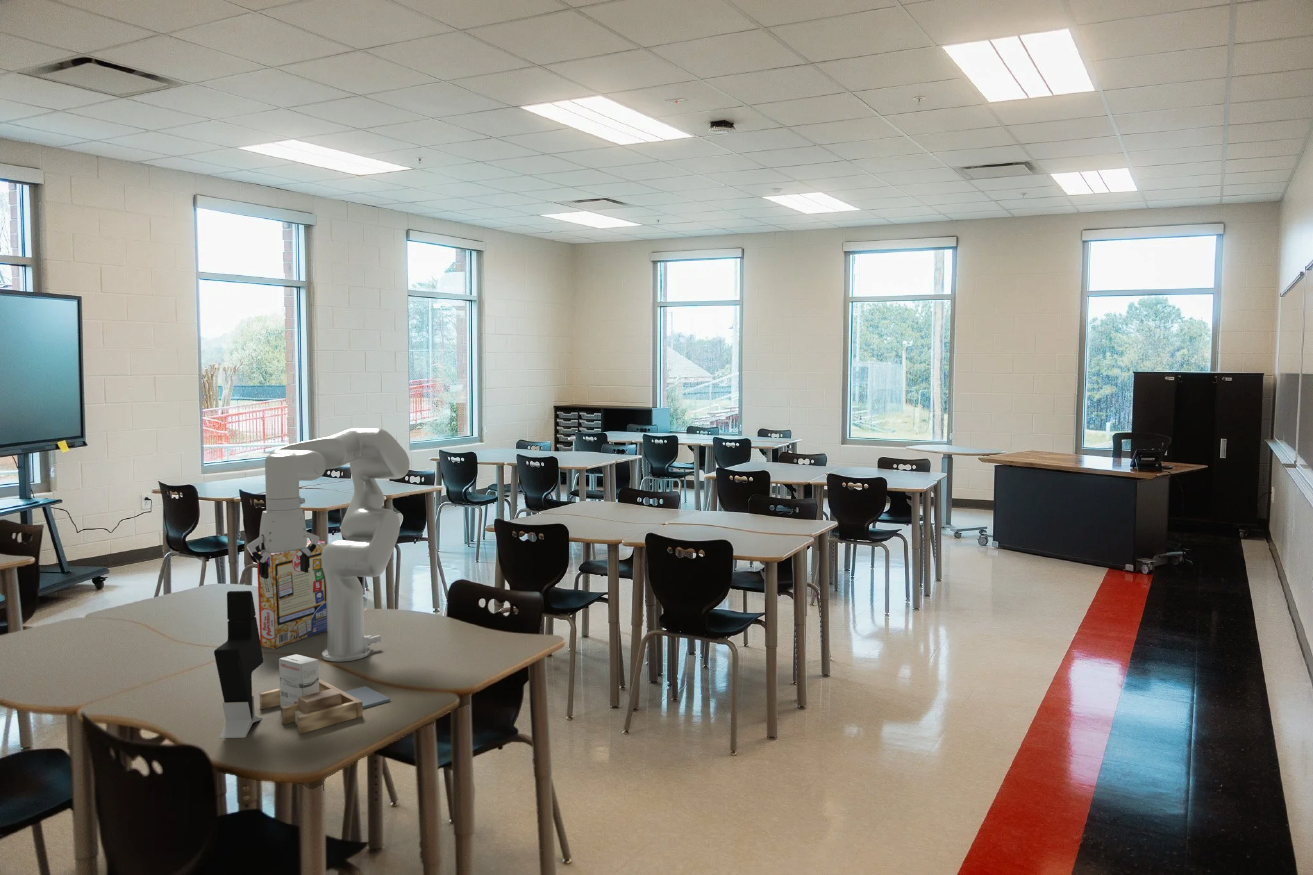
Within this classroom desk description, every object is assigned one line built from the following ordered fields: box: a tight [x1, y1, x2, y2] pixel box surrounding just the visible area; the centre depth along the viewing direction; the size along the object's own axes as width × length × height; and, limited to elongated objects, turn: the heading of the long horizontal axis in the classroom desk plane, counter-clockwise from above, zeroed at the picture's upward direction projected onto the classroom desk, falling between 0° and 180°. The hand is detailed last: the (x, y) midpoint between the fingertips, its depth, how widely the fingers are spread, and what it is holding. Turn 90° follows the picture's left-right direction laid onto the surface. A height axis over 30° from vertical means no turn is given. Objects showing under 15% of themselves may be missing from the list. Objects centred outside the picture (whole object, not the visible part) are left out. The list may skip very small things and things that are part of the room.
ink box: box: [278, 654, 320, 709], centre depth 210 cm, size 9×5×12 cm, turn 58°
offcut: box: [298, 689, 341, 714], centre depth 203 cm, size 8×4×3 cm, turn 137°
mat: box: [344, 685, 391, 710], centre depth 217 cm, size 8×12×1 cm, turn 45°
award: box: [213, 590, 264, 739], centre depth 198 cm, size 15×5×30 cm, turn 5°
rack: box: [259, 678, 364, 735], centre depth 208 cm, size 14×22×4 cm, turn 45°
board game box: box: [256, 540, 327, 650], centre depth 264 cm, size 20×6×27 cm, turn 154°
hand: (284, 574), depth 222 cm, fingers open, 9 cm apart
